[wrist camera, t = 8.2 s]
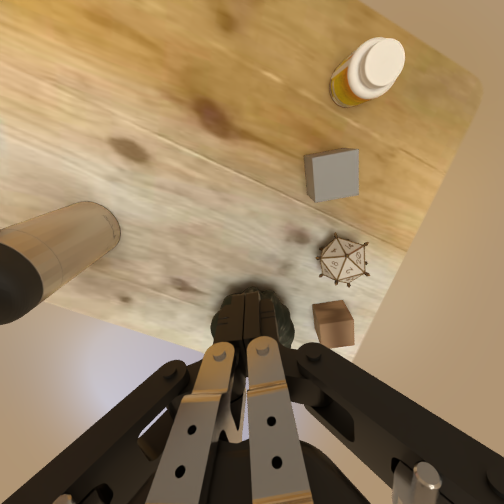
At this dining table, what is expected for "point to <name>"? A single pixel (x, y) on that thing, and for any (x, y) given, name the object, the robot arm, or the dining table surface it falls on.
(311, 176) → the slate cube
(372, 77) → the supplement bottle
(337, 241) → the game die
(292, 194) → the dining table surface
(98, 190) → the dining table surface
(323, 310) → the walnut cube
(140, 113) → the dining table surface
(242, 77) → the dining table surface
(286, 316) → the squash
